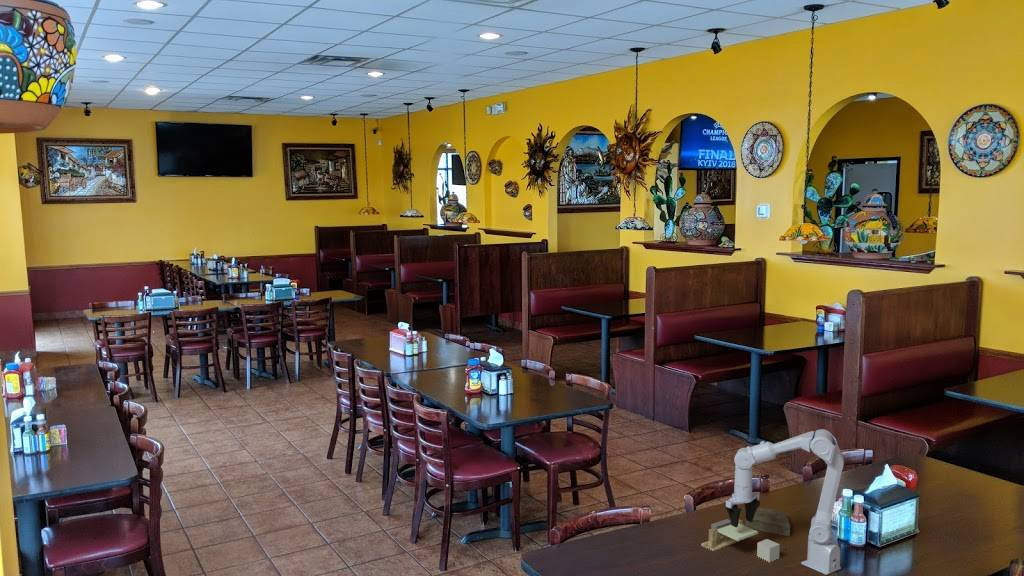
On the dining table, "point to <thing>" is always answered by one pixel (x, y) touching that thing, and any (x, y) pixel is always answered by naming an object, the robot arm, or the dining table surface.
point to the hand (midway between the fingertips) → (741, 523)
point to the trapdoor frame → (719, 539)
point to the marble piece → (770, 521)
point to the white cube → (768, 550)
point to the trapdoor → (734, 530)
